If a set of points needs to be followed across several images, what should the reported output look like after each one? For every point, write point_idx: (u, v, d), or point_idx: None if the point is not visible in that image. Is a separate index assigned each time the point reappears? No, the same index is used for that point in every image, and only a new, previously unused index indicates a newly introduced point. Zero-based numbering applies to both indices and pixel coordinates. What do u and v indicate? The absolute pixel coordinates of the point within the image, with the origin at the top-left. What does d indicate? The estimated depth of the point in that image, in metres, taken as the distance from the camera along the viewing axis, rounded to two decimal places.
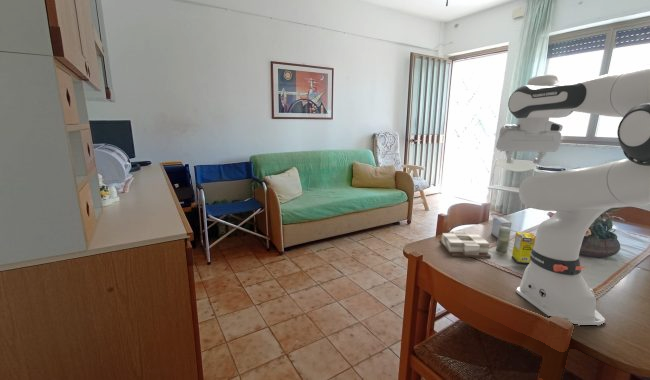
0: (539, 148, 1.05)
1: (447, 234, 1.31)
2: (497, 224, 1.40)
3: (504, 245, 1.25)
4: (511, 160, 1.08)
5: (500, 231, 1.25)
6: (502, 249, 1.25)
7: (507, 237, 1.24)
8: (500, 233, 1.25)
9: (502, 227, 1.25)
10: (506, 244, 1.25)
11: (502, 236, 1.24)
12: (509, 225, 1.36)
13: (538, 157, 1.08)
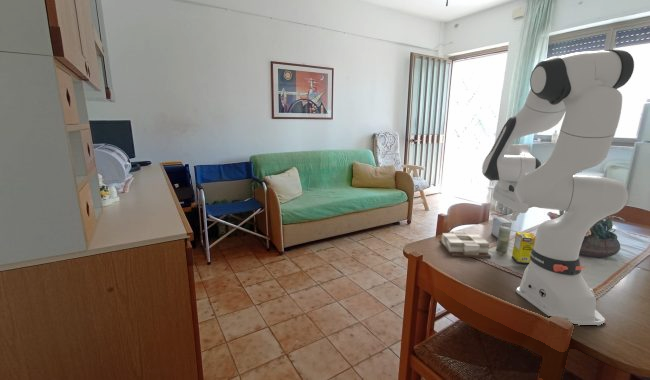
0: (508, 205, 1.19)
1: (447, 234, 1.31)
2: (497, 224, 1.40)
3: (504, 245, 1.25)
4: (498, 209, 1.29)
5: (500, 231, 1.25)
6: (502, 249, 1.25)
7: (507, 237, 1.24)
8: (500, 233, 1.25)
9: (502, 227, 1.25)
10: (506, 244, 1.25)
11: (502, 236, 1.24)
12: (509, 225, 1.36)
13: None
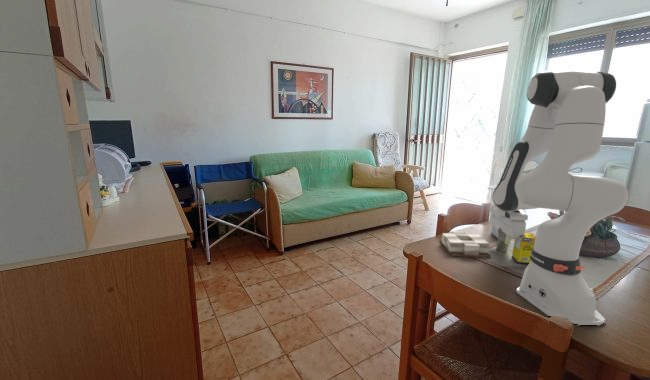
0: (505, 230, 1.22)
1: (447, 234, 1.31)
2: None
3: (504, 245, 1.25)
4: (497, 235, 1.29)
5: (500, 231, 1.25)
6: (502, 249, 1.25)
7: None
8: (500, 233, 1.25)
9: None
10: (506, 244, 1.25)
11: (502, 236, 1.24)
12: None
13: None
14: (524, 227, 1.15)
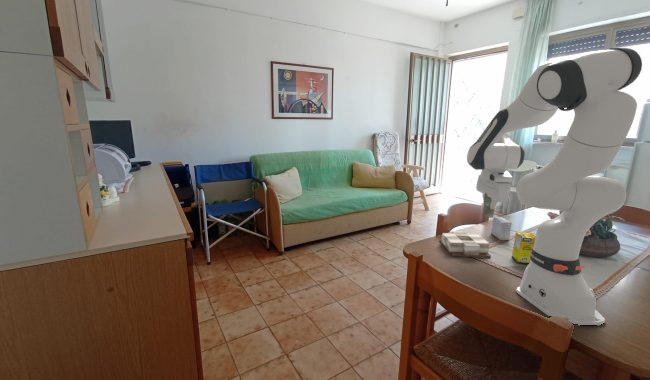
0: (490, 194, 1.19)
1: (447, 234, 1.31)
2: (497, 224, 1.40)
3: (490, 210, 1.22)
4: (483, 201, 1.26)
5: (486, 196, 1.22)
6: (488, 215, 1.22)
7: None
8: (486, 198, 1.22)
9: None
10: (492, 209, 1.22)
11: (487, 201, 1.21)
12: (509, 225, 1.36)
13: None
14: (509, 189, 1.11)
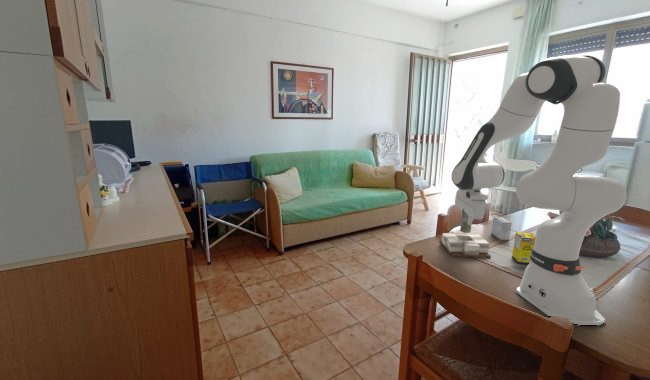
0: (466, 211, 1.21)
1: (447, 234, 1.31)
2: (497, 224, 1.40)
3: (467, 226, 1.24)
4: (461, 217, 1.28)
5: (463, 212, 1.24)
6: (465, 230, 1.24)
7: None
8: (463, 214, 1.24)
9: None
10: (469, 225, 1.24)
11: (465, 216, 1.23)
12: (509, 225, 1.36)
13: None
14: (484, 206, 1.14)
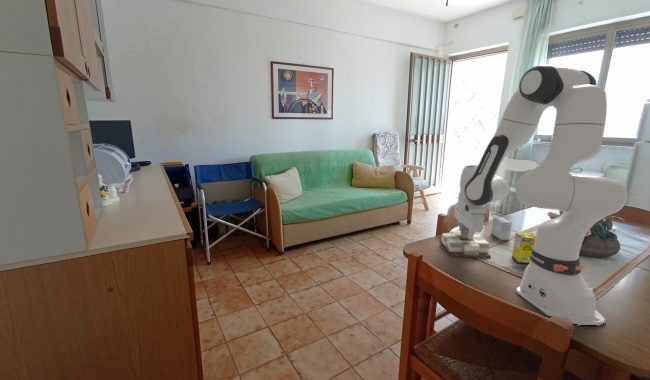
0: (466, 224, 1.22)
1: (447, 234, 1.31)
2: (497, 224, 1.40)
3: None
4: (459, 228, 1.30)
5: (462, 228, 1.25)
6: None
7: None
8: (462, 230, 1.25)
9: None
10: None
11: (464, 232, 1.25)
12: (509, 225, 1.36)
13: None
14: (483, 220, 1.15)
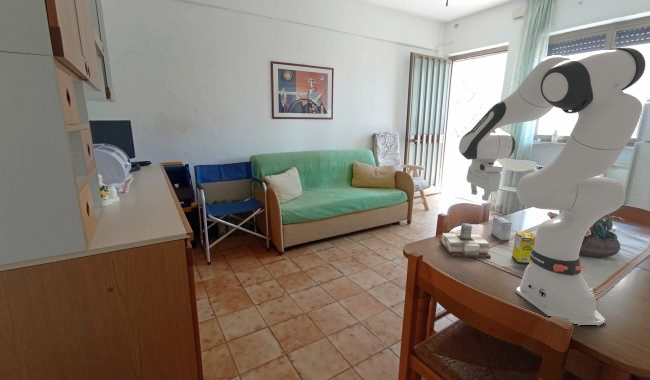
0: (480, 185, 1.19)
1: (447, 234, 1.31)
2: (497, 224, 1.40)
3: None
4: (472, 191, 1.28)
5: (462, 228, 1.25)
6: None
7: (469, 234, 1.24)
8: (462, 230, 1.25)
9: (464, 224, 1.26)
10: None
11: (463, 233, 1.25)
12: (509, 225, 1.36)
13: None
14: (499, 178, 1.12)
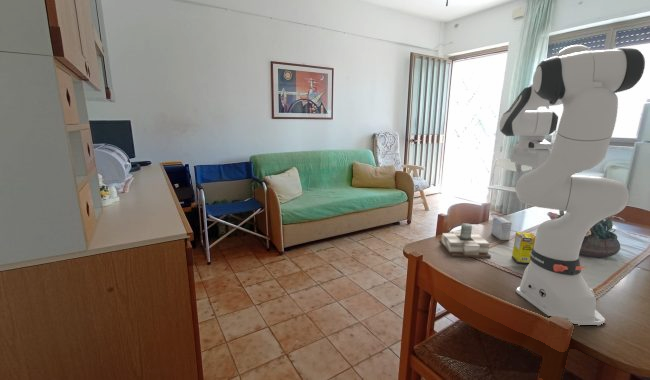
0: (527, 163, 1.22)
1: (447, 234, 1.31)
2: (497, 224, 1.40)
3: None
4: (516, 171, 1.31)
5: (462, 228, 1.25)
6: None
7: (469, 234, 1.24)
8: (462, 230, 1.25)
9: (464, 224, 1.26)
10: None
11: (463, 232, 1.25)
12: (509, 225, 1.36)
13: None
14: (548, 155, 1.15)
